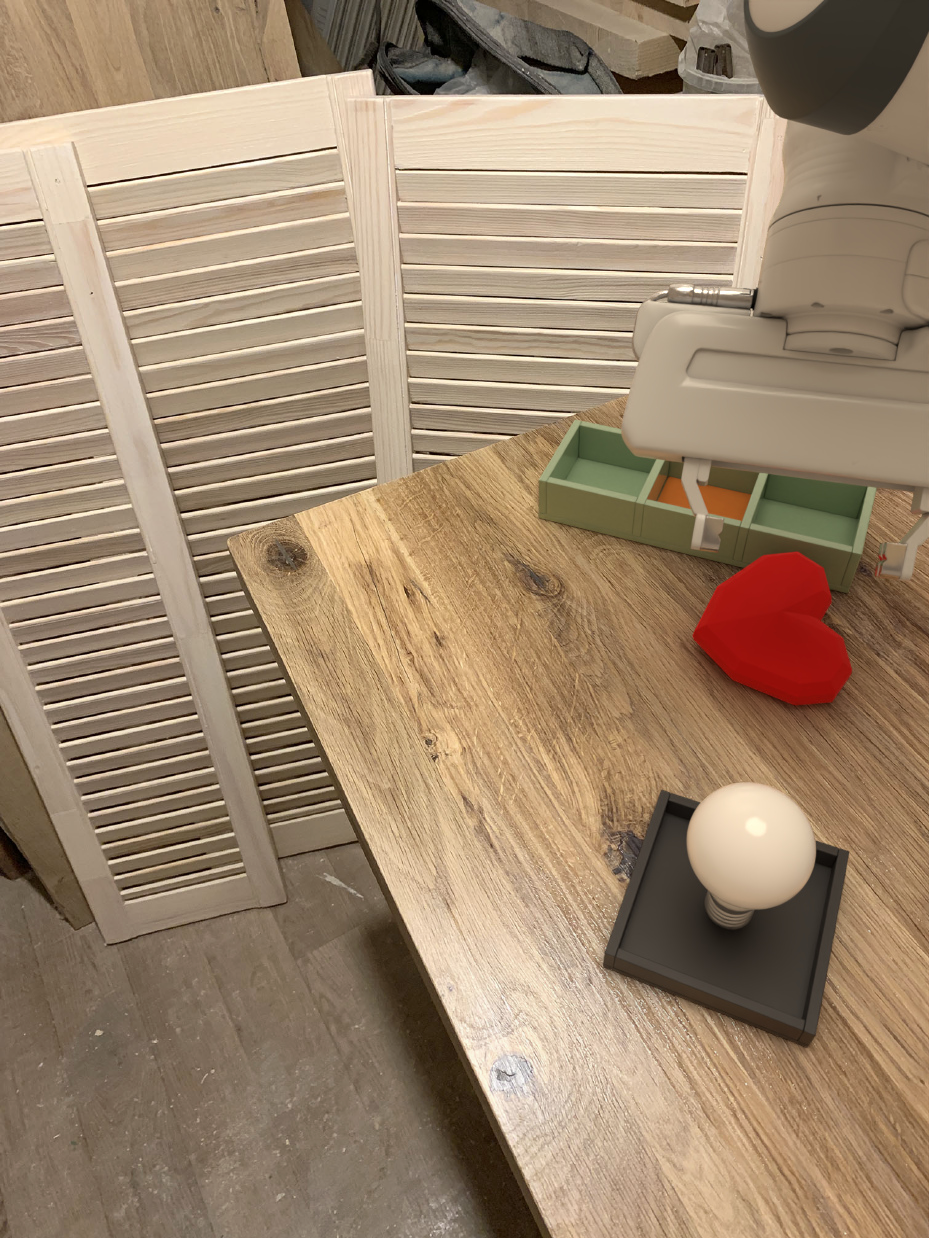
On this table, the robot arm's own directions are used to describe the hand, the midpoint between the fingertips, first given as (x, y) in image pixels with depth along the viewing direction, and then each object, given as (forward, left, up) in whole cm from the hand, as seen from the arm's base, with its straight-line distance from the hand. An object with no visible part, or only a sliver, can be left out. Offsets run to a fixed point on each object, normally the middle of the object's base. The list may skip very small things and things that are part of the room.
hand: (796, 564), depth 48 cm
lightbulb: (-2, +11, -17) cm, 21 cm away
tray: (-2, +11, -17) cm, 21 cm away
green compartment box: (+8, -22, -17) cm, 29 cm away
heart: (+1, -10, -17) cm, 20 cm away
